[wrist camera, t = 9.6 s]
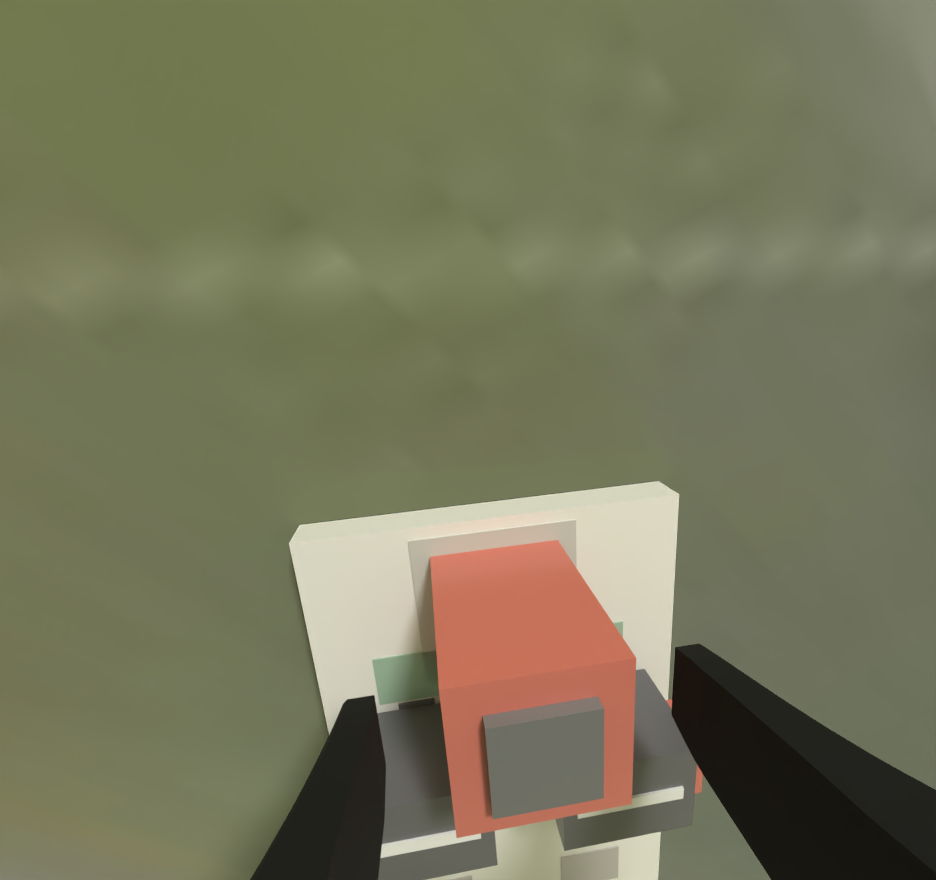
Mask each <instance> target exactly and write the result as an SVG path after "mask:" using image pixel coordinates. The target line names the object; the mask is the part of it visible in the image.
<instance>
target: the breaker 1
mask: <svg viewBox="0 0 936 880" xmlns="http://www.w3.org/2000/svg"><path fill="white" fill-rule="evenodd" d="M377 714H378V720H379V726H380V731H381V737H382V743H383V749H384V755H385V761H386V789H385V821H384V830H383V839H382V848H381V857H380V866H379V875H378V880H426V879H431V878H436V877H441V876H446V875H451V874H456V873H461V872H466V871H471V870H476V869H481V868H486V867H491V866H496V865H498V864H497V852H496V841H495V831H491V832H486V833H481V834H476V835H470V836H465V837H460V838H457V837H456V829H455V821H454V812H453V804H452V796H451V787H450V779H449V770H448V762H447V754H446V745H445V737H444V729H443V720H442V712H441V703H436V704H430V705H424V706H418V707H412V708H406V709H400V710H394V711H388V712H382V713H377Z"/></svg>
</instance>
